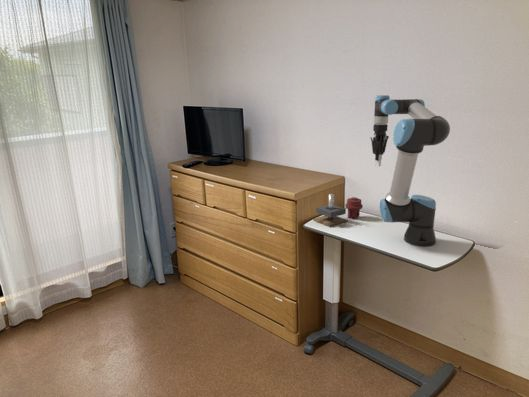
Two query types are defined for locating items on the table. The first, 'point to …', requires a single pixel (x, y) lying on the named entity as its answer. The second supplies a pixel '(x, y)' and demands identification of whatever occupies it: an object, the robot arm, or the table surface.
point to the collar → (330, 211)
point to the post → (331, 204)
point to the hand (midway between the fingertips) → (377, 165)
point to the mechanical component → (353, 207)
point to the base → (330, 221)
